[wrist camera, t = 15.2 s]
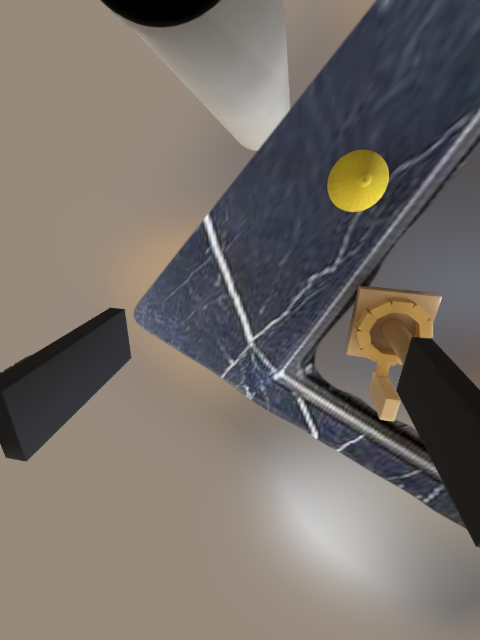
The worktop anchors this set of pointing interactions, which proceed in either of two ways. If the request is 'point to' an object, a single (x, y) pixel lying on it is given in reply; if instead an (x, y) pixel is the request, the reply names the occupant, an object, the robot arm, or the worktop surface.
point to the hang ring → (380, 383)
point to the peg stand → (389, 320)
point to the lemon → (358, 180)
